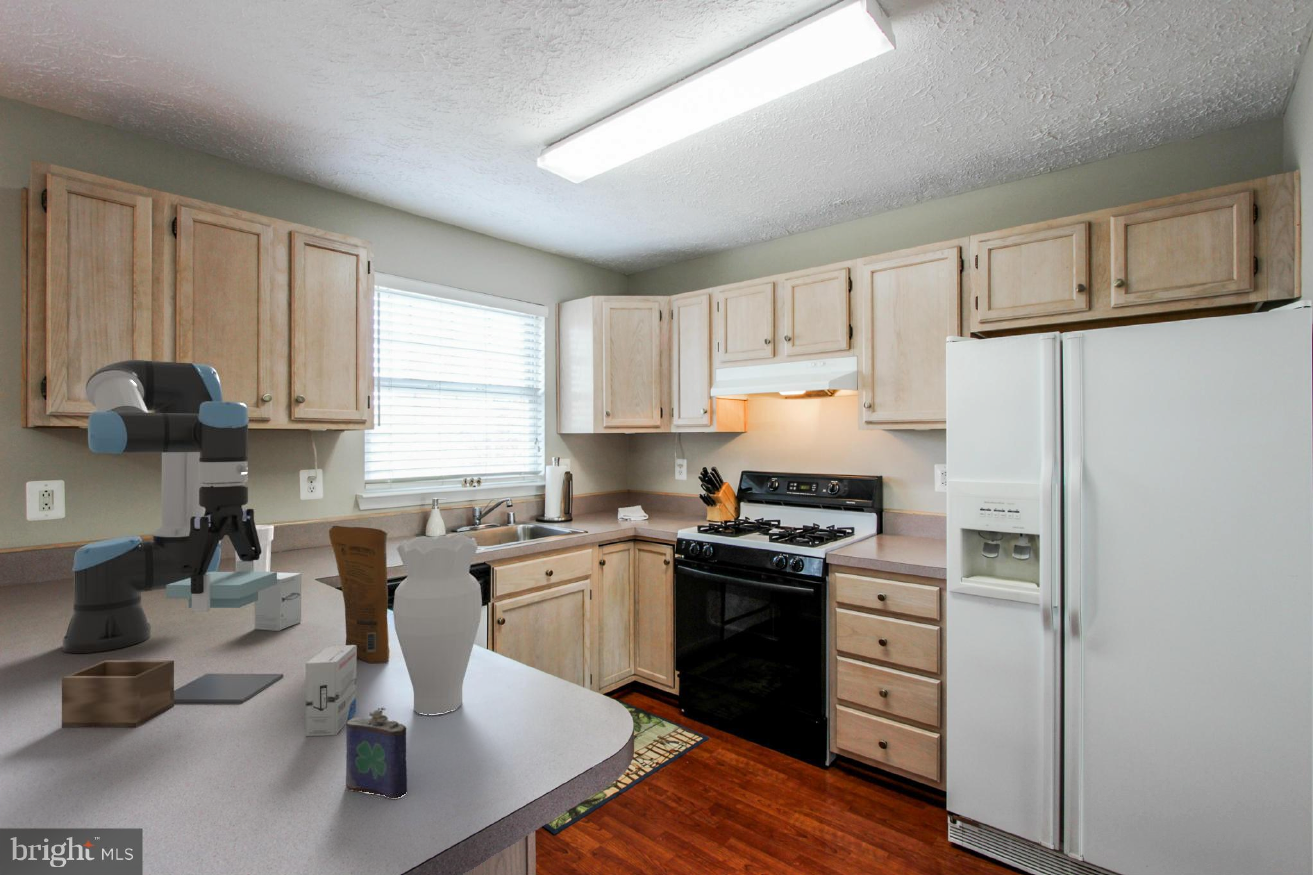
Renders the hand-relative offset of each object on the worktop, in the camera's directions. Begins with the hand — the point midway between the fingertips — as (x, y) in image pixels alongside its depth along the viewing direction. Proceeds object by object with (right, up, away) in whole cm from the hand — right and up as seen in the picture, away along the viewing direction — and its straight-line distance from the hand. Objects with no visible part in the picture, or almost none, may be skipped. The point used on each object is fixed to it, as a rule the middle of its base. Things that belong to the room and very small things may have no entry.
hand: (223, 602), depth 117 cm
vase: (+42, -16, -7) cm, 46 cm away
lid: (0, +2, 0) cm, 2 cm away
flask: (+43, -17, -33) cm, 57 cm away
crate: (-10, -16, -11) cm, 22 cm away
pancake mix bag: (+17, -16, +18) cm, 30 cm away
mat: (0, -16, 0) cm, 16 cm away
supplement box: (-13, -16, +39) cm, 44 cm away
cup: (-51, -16, +88) cm, 103 cm away
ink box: (+27, -16, -14) cm, 35 cm away
